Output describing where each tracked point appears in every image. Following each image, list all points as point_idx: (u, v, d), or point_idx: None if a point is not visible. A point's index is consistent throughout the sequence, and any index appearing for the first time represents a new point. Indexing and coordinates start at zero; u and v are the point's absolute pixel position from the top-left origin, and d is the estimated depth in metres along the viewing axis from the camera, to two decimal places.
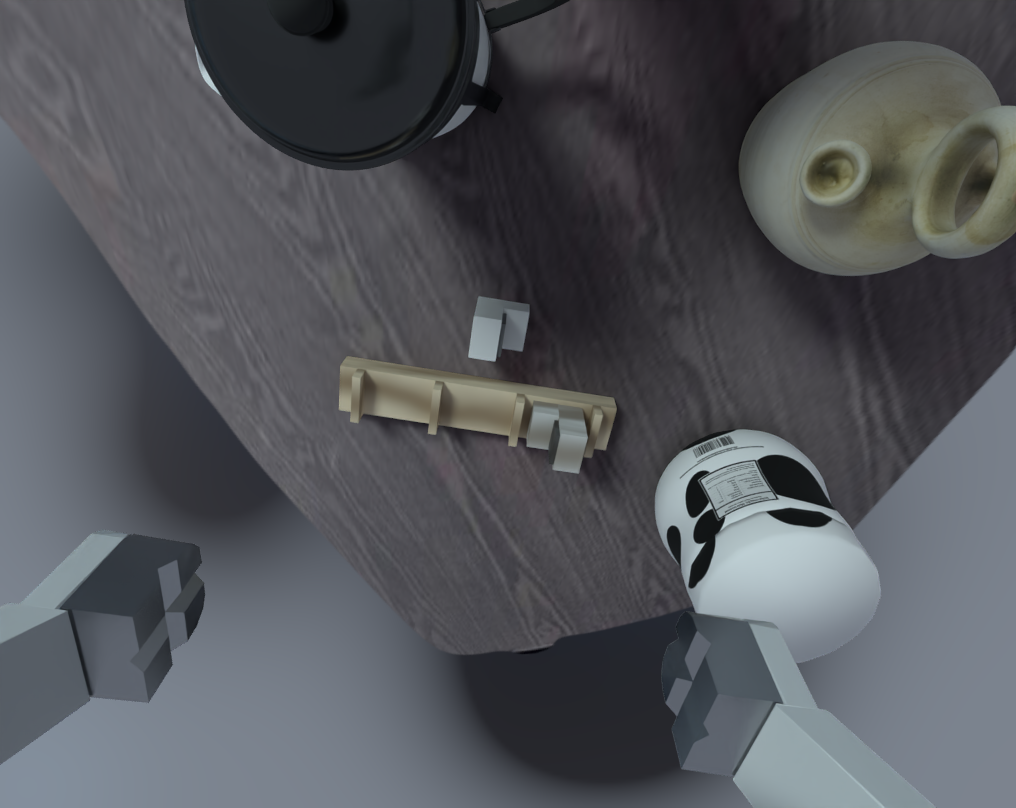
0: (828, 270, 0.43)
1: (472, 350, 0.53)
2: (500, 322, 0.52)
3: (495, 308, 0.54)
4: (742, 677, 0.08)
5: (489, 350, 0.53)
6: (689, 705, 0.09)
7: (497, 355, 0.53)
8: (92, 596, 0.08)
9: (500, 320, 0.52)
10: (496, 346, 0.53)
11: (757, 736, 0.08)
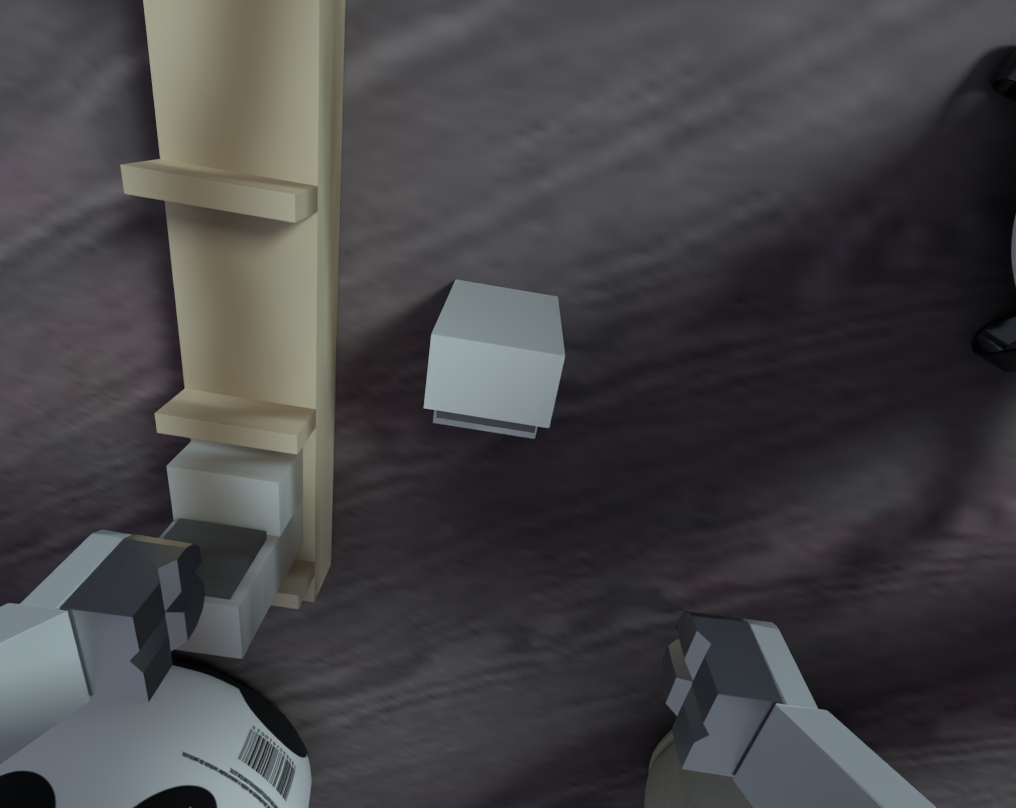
0: None
1: (454, 347, 0.17)
2: (543, 424, 0.18)
3: None
4: (742, 677, 0.08)
5: (457, 394, 0.18)
6: (689, 705, 0.09)
7: (440, 410, 0.19)
8: (93, 596, 0.08)
9: (548, 423, 0.18)
10: (470, 412, 0.18)
11: (757, 736, 0.08)
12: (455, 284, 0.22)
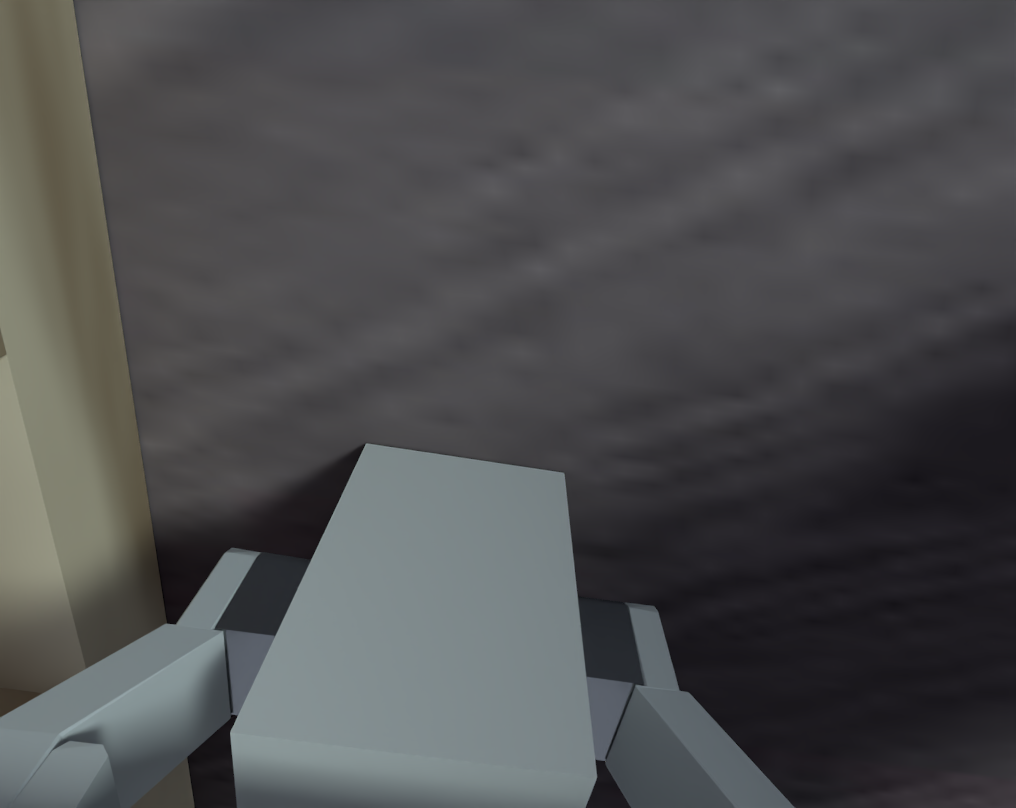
0: None
1: (298, 757, 0.06)
2: None
3: None
4: (607, 659, 0.08)
5: None
6: None
7: None
8: (242, 617, 0.08)
9: None
10: None
11: (623, 719, 0.08)
12: (361, 461, 0.11)
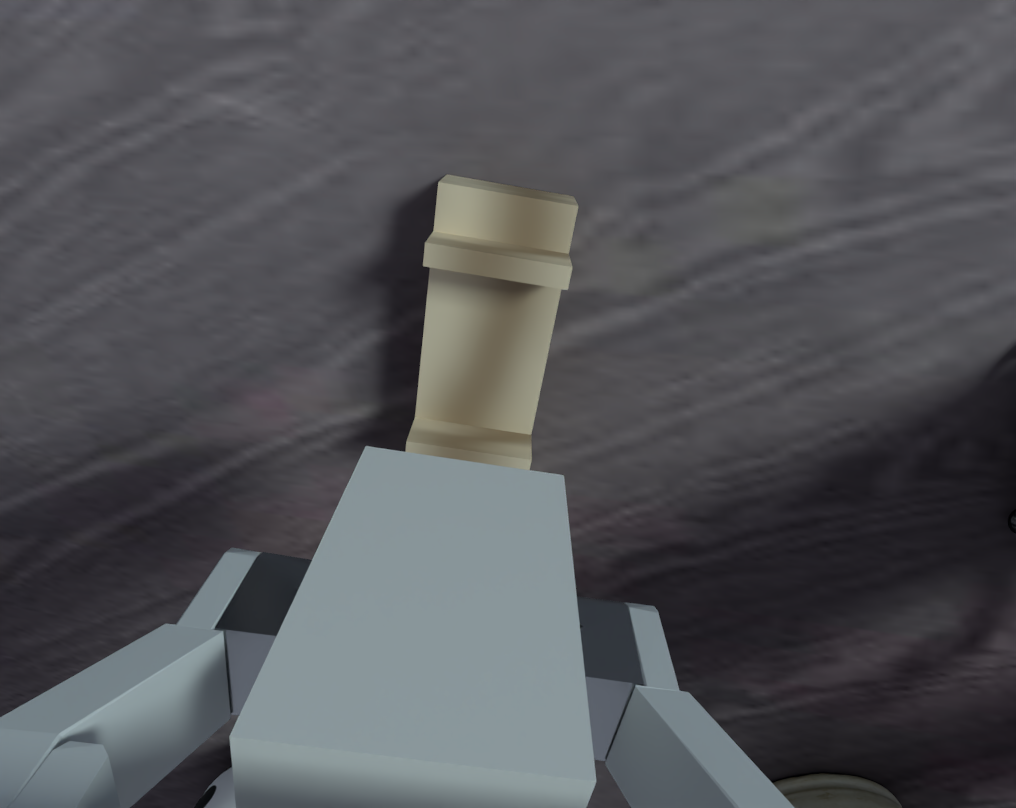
0: None
1: (297, 761, 0.06)
2: None
3: None
4: (607, 659, 0.08)
5: None
6: None
7: None
8: (242, 617, 0.08)
9: None
10: None
11: (622, 719, 0.08)
12: (361, 464, 0.11)
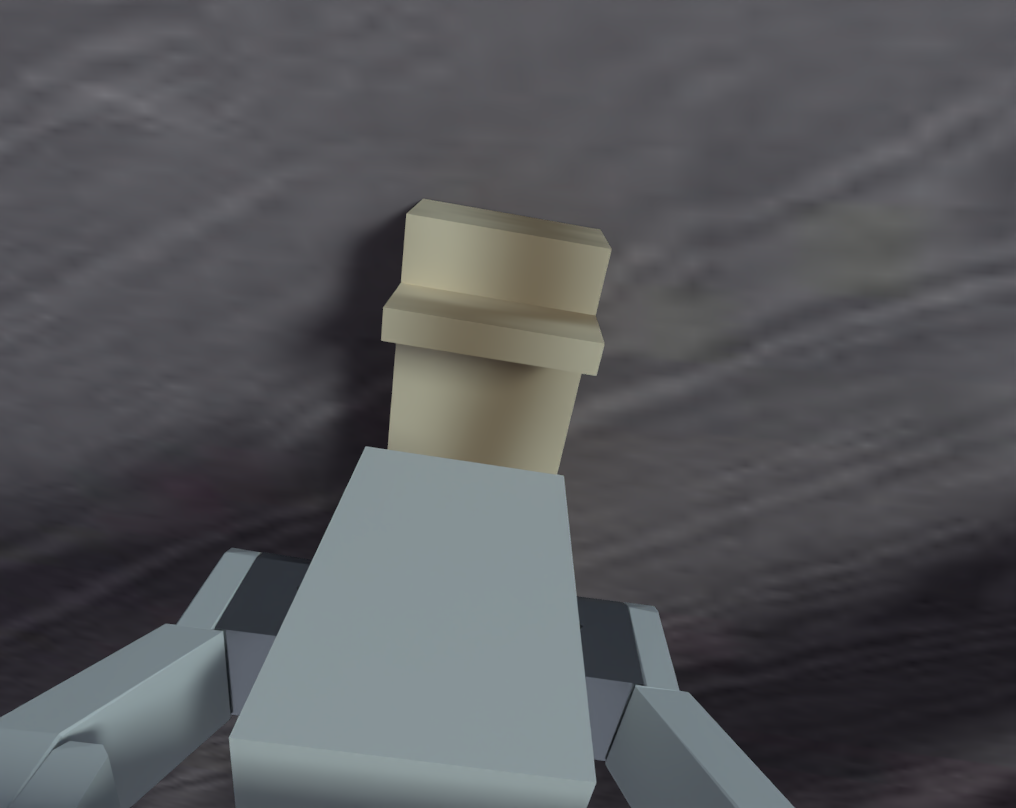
0: None
1: (297, 762, 0.06)
2: None
3: None
4: (607, 659, 0.08)
5: None
6: None
7: None
8: (243, 616, 0.08)
9: None
10: None
11: (622, 718, 0.08)
12: (361, 464, 0.11)
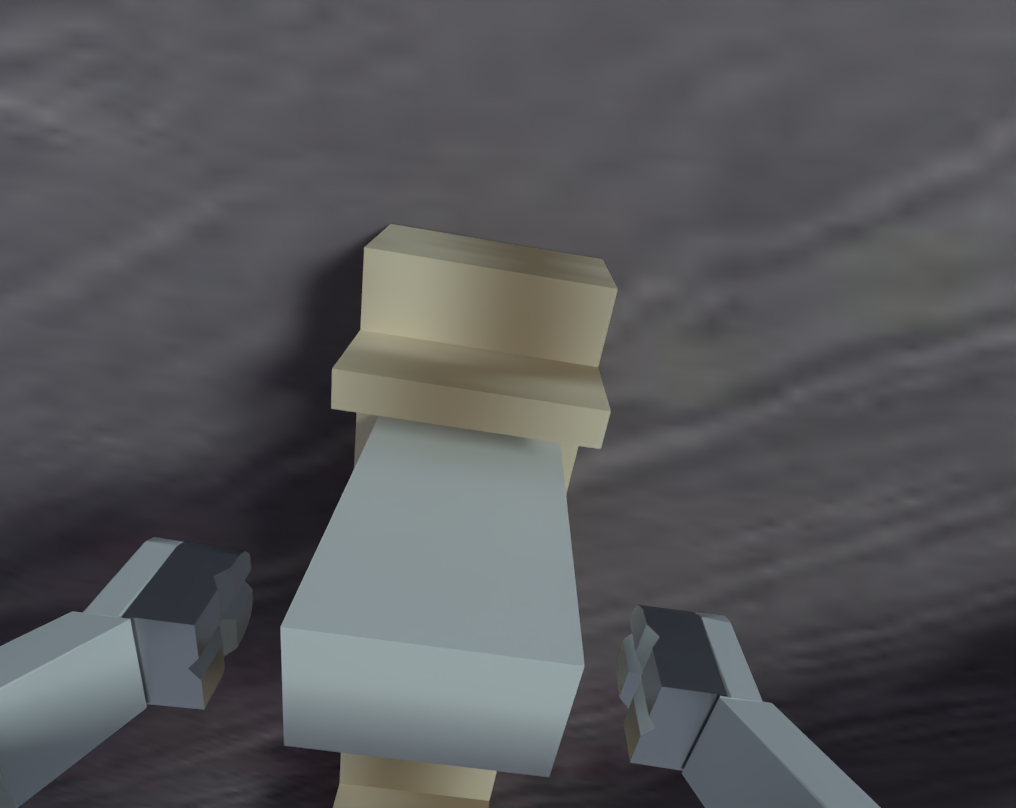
0: None
1: (336, 649, 0.08)
2: (536, 772, 0.09)
3: None
4: (688, 670, 0.08)
5: (352, 724, 0.08)
6: (639, 698, 0.09)
7: None
8: (152, 604, 0.08)
9: (547, 768, 0.09)
10: (383, 751, 0.09)
11: (703, 728, 0.08)
12: (378, 425, 0.12)
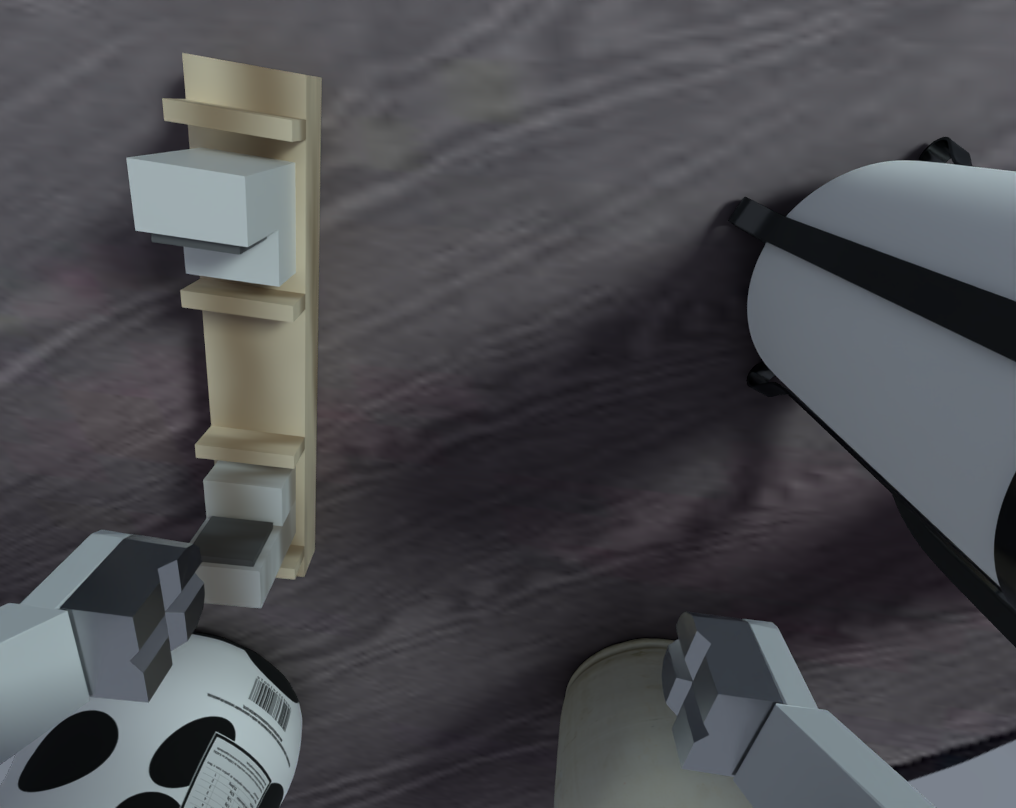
0: None
1: (149, 170, 0.20)
2: (241, 243, 0.22)
3: (274, 214, 0.24)
4: (742, 677, 0.08)
5: (161, 215, 0.21)
6: (689, 705, 0.09)
7: (154, 234, 0.22)
8: (92, 596, 0.08)
9: (246, 243, 0.22)
10: (177, 233, 0.21)
11: (757, 736, 0.08)
12: (197, 148, 0.25)
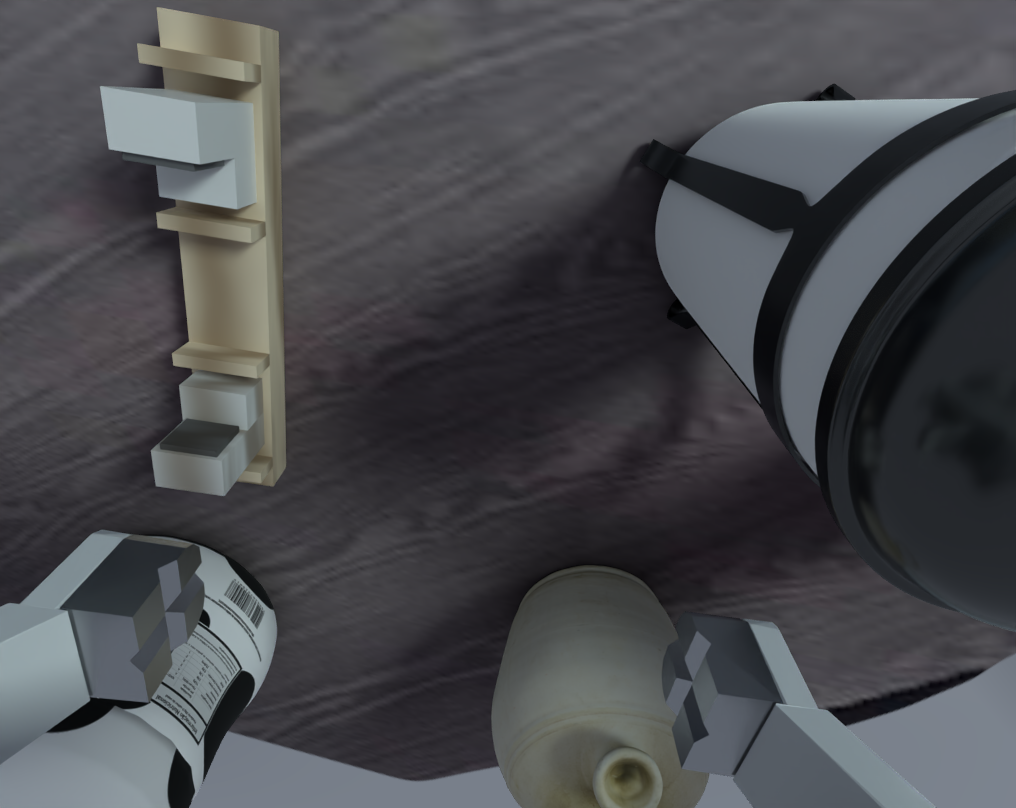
0: (502, 734, 0.38)
1: (118, 96, 0.25)
2: (194, 161, 0.26)
3: (229, 143, 0.29)
4: (742, 677, 0.08)
5: (129, 136, 0.26)
6: (689, 705, 0.09)
7: (124, 153, 0.26)
8: (91, 596, 0.08)
9: (199, 161, 0.26)
10: (142, 152, 0.26)
11: (757, 736, 0.08)
12: (169, 89, 0.30)
